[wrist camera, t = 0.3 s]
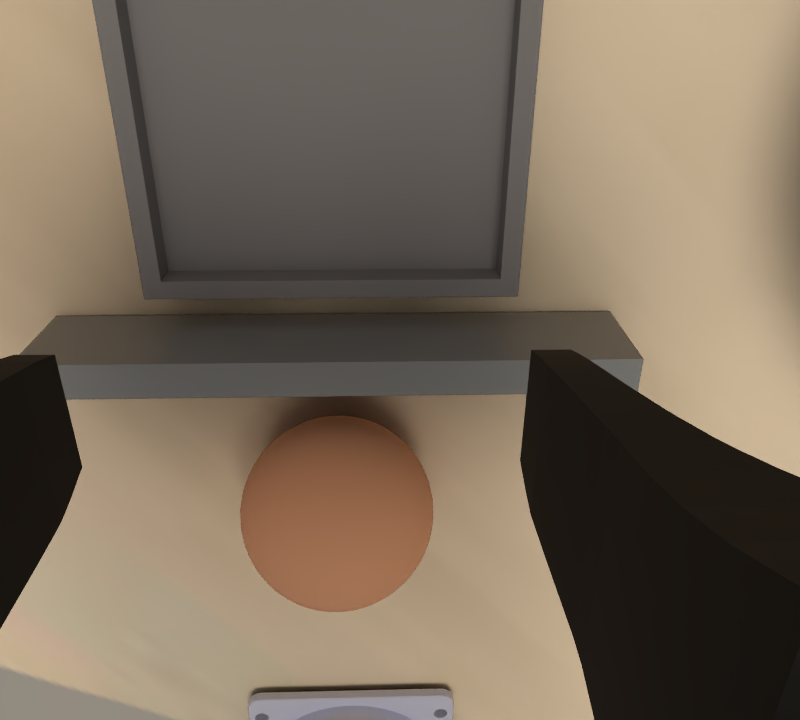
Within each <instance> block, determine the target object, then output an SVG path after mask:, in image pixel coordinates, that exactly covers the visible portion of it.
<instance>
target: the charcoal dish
mask: <svg viewBox="0 0 800 720" xmlns="http://www.w3.org/2000/svg"><path fill="white" fill-rule="evenodd" d="M543 2H544V0H92V3H93V8H94V14H95V20H96V25H97V31H98V37H99V43H100V48H101V54H102V60H103V65H104V71H105V77H106V82H107V88H108V94H109V100H110V105H111V111H112V117H113V122H114V128H115V134H116V140H117V145H118V151H119V157H120V162H121V168H122V174H123V179H124V185H125V191H126V197H127V202H128V208H129V214H130V219H131V225H132V231H133V237H134V242H135V248H136V254H137V259H138V265H139V271H140V277H141V282H142V288H143V294H144V299H261V298H387V297H513V296H518V289H519V277H520V266H521V254H522V243H523V231H524V220H525V208H526V197H527V185H528V174H529V163H530V151H531V140H532V128H533V117H534V105H535V94H536V82H537V71H538V59H539V48H540V36H541V25H542V13H543Z"/></svg>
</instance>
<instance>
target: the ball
mask: <svg viewBox="0 0 800 720" xmlns="http://www.w3.org/2000/svg"><path fill="white" fill-rule="evenodd" d="M240 512H241V530H242V535H243V539H244V543H245V547H246V549H247V552H248V555H249V557H250V559H251V561H252V563H253V564H254V566H255V568H256V569H257V571H258V572H259V574H260V575H261V576H262V577H263V579H264V580H265V581H266V582H267V583H268V584H269V585H270V586H271V587H272V588H273V589H274V590H275V591H277V592H278V593H279V594H281V595H282V596H284V597H285V598H287V599H289V600H290V601H292V602H294V603H296V604H299V605H301V606H304V607H307V608H310V609H314V610H319V611H327V612H344V611H351V610H357V609H360V608H364V607H367V606H369V605H372V604H374V603H376V602H378V601H380V600H382V599H384V598H386V597H387V596H389V595H390V594H392V593H393V592H394V591H395V590H397V589H398V588H399V587H400V586H401V585H402V584H403V583H404V582H405V581H406V580H407V579H408V578H409V577H410V576H411V575H412V573H413V572H414V570H415V569H416V567H417V566H418V564H419V563H420V561H421V559H422V557H423V555H424V553H425V550H426V548H427V546H428V542H429V539H430V535H431V530H432V524H433V499H432V494H431V490H430V485H429V481H428V479H427V476H426V474H425V471H424V469H423V467H422V465H421V463H420V462H419V460H418V458H417V457H416V456H415V454H414V453H413V452H412V451H411V449H410V448H409V447H408V446H407V444H405V443H404V442H403V441H402V440H401V439H400V438H399V437H398V436H396V435H395V434H393V433H392V432H391V431H389V430H388V429H386V428H384V427H383V426H381V425H379V424H377V423H374V422H372V421H369V420H365V419H362V418H358V417H351V416H325V417H320V418H315V419H312V420H308V421H305V422H303V423H301V424H299V425H296V426H294V427H292V428H291V429H289V430H287V431H286V432H284V433H283V434H281V435H280V436H279V437H278V438H276V439H275V440H274V441H273V442H272V443H271V444H270V445H269V446H268V447H267V448H266V449H265V450H264V451H263V453H262V454H261V455H260V457H259V458H258V460H257V461H256V463H255V464H254V466H253V468H252V470H251V472H250V474H249V476H248V479H247V482H246V484H245V488H244V491H243V496H242V503H241V511H240Z"/></svg>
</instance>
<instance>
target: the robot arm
mask: <svg viewBox="0 0 800 720" xmlns="http://www.w3.org/2000/svg"><path fill="white" fill-rule="evenodd" d="M520 462H521V467H522V473H523V478H524V483H525V489H526V494H527V499H528V503H529V508H530V513H531V516H532V519H533V522H534V525H535V528H536V531H537V534H538V537H539V540H540V543H541V546H542V549H543V552H544V555H545V558H546V560H547V563H548V566H549V569H550V572H551V575H552V578H553V580H554V583H555V586H556V589H557V592H558V595H559V597H560V600H561V603H562V606H563V609H564V612H565V615H566V617H567V620H568V623H569V626H570V629H571V632H572V634H573V638H574V641H575V644H576V648H577V651H578V654H579V658H580V661H581V664H582V668H583V672H584V677H585V681H586V685H587V690H588V694H589V698H590V702H591V707H592V711H593V715H594V720H800V477H798V476H795V475H793V474H790V473H788V472H786V471H783V470H781V469H779V468H776V467H774V466H772V465H770V464H768V463H766V462H763V461H761V460H759V459H757V458H755V457H753V456H751V455H748V454H746V453H744V452H742V451H740V450H738V449H735V448H734V447H732V446H730V445H728V444H726V443H724V442H722V441H720V440H718V439H716V438H714V437H712V436H710V435H709V434H707V433H705V432H703V431H702V430H700V429H698V428H696V427H695V426H693V425H691V424H689V423H687V422H686V421H684V420H682V419H680V418H679V417H677V416H675V415H674V414H672V413H670V412H669V411H667V410H665V409H664V408H662V407H661V406H659V405H657V404H656V403H654V402H653V401H651V400H649V399H648V398H646V397H645V396H643V395H642V394H640V393H639V392H637V391H636V390H634V389H633V388H631V387H630V386H628V385H627V384H625V383H623V382H622V381H620V380H619V379H618V378H616V377H615V376H613V375H612V374H610V373H609V372H607V371H606V370H604V369H603V368H601V367H600V366H598V365H597V364H595V363H593V362H592V361H590V360H589V359H587V358H586V357H584V356H582V355H581V354H579V353H577V352H575V351H573V350H571V349H563V350H531V356H530V366H529V377H528V387H527V397H526V407H525V418H524V428H523V438H522V448H521V458H520ZM81 469H82V464H81V460H80V456H79V452H78V448H77V444H76V440H75V436H74V431H73V427H72V423H71V419H70V415H69V411H68V407H67V403H66V398H65V394H64V390H63V386H62V382H61V378H60V374H59V370H58V365H57V361H56V357H55V355H12V356H9V357H5V358H2V359H0V628H1V627H2V625H3V623H4V622H5V620H6V618H7V616H8V615H9V613H10V611H11V609H12V608H13V606H14V604H15V603H16V601H17V599H18V597H19V596H20V594H21V592H22V590H23V589H24V587H25V585H26V584H27V582H28V580H29V578H30V577H31V575H32V573H33V571H34V570H35V568H36V566H37V565H38V563H39V561H40V559H41V557H42V556H43V554H44V552H45V550H46V549H47V547H48V545H49V543H50V541H51V540H52V538H53V536H54V534H55V532H56V531H57V529H58V527H59V525H60V523H61V521H62V519H63V516H64V514H65V511H66V509H67V506H68V504H69V502H70V499H71V497H72V494H73V491H74V488H75V485H76V483H77V480H78V477H79V474H80V471H81ZM248 711H249V718H250V720H453V696H452V693H451V692H450V691H448V690H446V689H441V688H438V689H396V690H353V691H311V692H269V693H257V694H255V695H253V696H252V697H251V698H250V700H249V706H248Z"/></svg>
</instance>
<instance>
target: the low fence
mask: <svg viewBox="0 0 800 720" xmlns="http://www.w3.org/2000/svg"><path fill="white" fill-rule="evenodd" d="M563 349H571V350H573V351H575V352H577V353H579V354H581V355H582V356H584V357H586V358H587V359H589V360H590V361H592V362H593V363H595V364H597V365H598V366H600V367H601V368H603V369H604V370H606V371H607V372H609V373H610V374H612V375H613V376H615V377H616V378H618V379H619V380H620V381H622V382H623V383H625V384H627V385H628V386H630V387H631V388H633V389H634V390H636V391H637V392H638V386H639V381H640V376H641V370H642V365H643V358H642V356H641V355H640V353H639V352H638V350H637V349H636V348H635V346H634V345H633V343H632V342H631V341H630V339H629V338H628V336H627V335H626V334H625V332H624V331H623V329H622V328H621V326H620V325H619V324H618V322H617V321H616V319H615V318H614V317H613V315H612V314H611V312H610V311H589V312H472V313H355V314H238V315H121V316H56V317H55V318H54V319H53V320H52V321H51V322H50V323H49V324H48V325H47V326H46V327H45V329H44V330H43V331H42V332H41V333H40V334H39V335H38V336H37V337H36V338H35V339H34V340H33V341H32V342H31V343H30V344H29V345H28V346H27V347H26V349H25V350H24V351H23V352H22V353H21V354H20V355H55V357H56V361H57V365H58V370H59V374H60V378H61V382H62V386H63V390H64V394H65V398H66V399H150V398H234V397H319V396H403V395H487V394H527V387H528V377H529V366H530V356H531V350H563Z"/></svg>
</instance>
